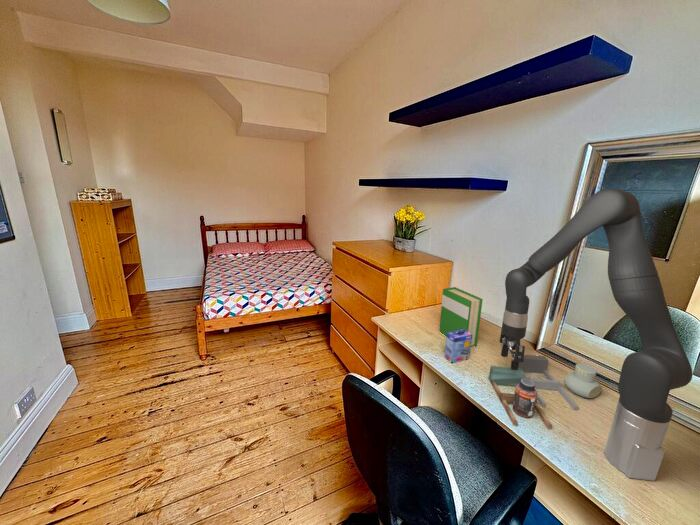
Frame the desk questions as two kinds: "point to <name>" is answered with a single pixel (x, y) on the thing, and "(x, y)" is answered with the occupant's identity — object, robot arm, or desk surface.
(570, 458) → the desk surface
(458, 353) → the ink cartridge box
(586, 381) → the air freshener
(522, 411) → the supplement bottle
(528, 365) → the charcoal frame
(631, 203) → the robot arm
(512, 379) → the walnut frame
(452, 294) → the hardback book
